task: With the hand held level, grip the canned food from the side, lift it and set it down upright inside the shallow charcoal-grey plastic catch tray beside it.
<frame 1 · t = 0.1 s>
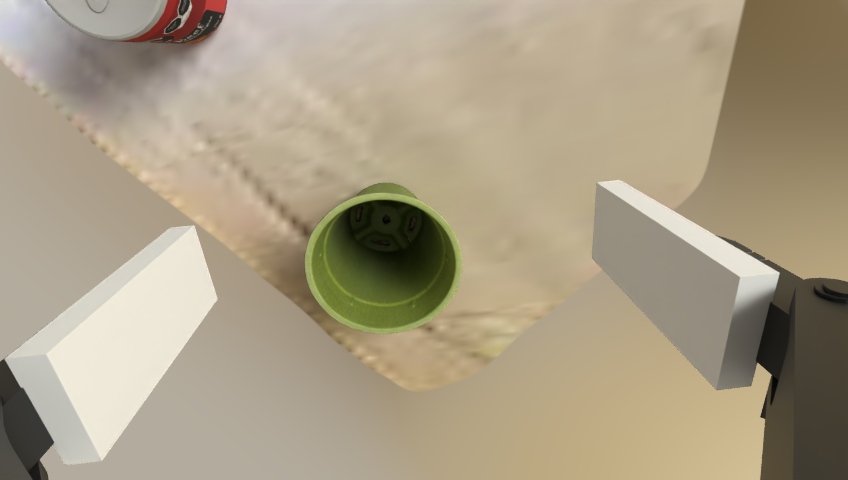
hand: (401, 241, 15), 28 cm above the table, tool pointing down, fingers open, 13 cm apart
plant pot: (387, 217, 44), on the table
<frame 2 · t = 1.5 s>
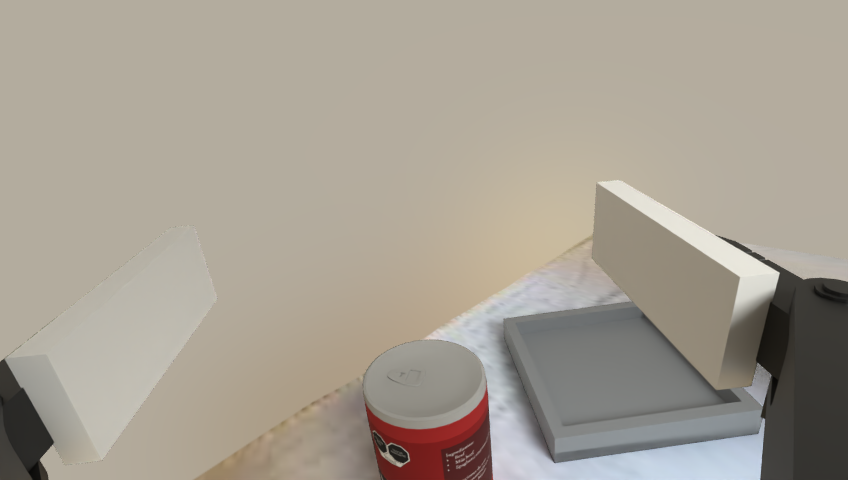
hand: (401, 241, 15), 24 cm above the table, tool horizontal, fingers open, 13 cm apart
catch tray: (609, 377, 42), on the table
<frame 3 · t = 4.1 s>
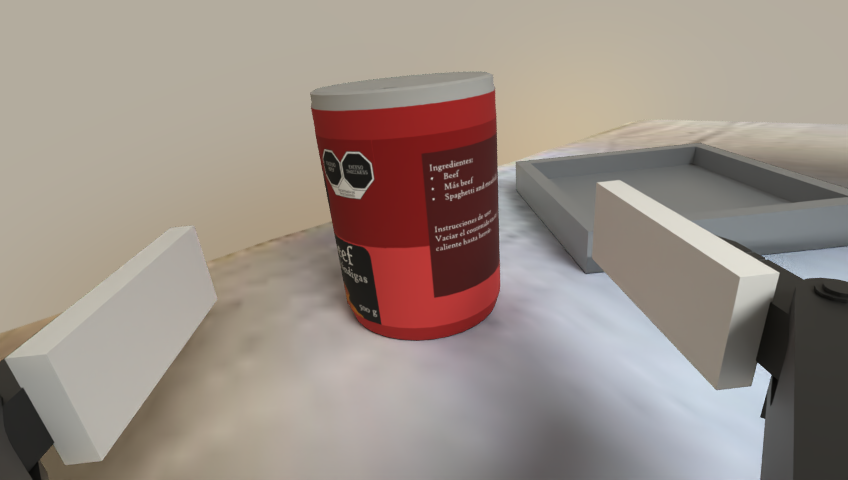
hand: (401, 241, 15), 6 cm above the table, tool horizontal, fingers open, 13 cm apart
canned food: (424, 304, 24), on the table
catch tray: (653, 210, 32), on the table
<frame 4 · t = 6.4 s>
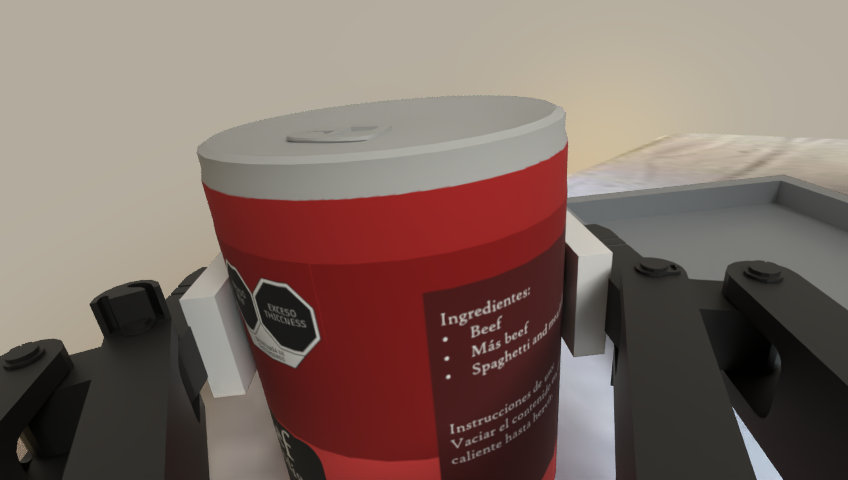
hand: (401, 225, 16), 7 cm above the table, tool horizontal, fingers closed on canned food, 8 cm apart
canned food: (426, 472, 14), on the table, touching gripper
catch tray: (744, 278, 23), on the table
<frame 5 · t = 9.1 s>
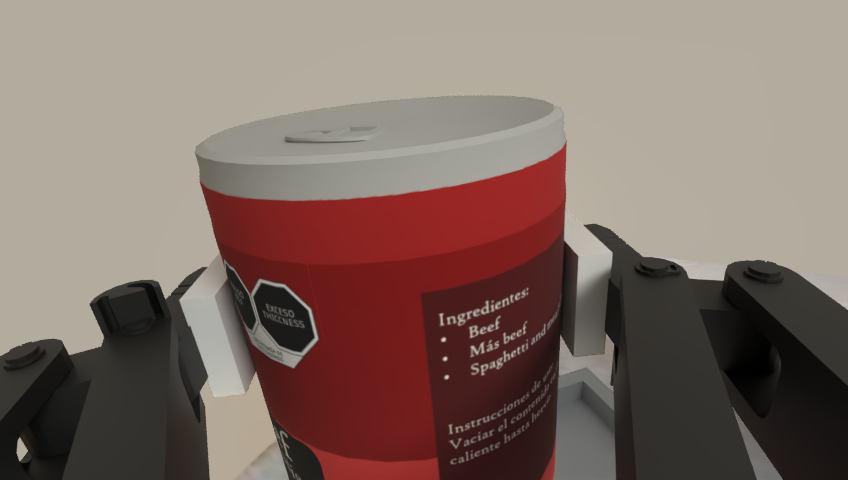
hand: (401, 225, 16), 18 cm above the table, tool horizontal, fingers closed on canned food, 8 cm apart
canned food: (425, 473, 14), point 11 cm above the table, touching gripper
when the fingers open (9 cm above the table, at t = 11.7 s): canned food drops 1 cm, resting on catch tray.
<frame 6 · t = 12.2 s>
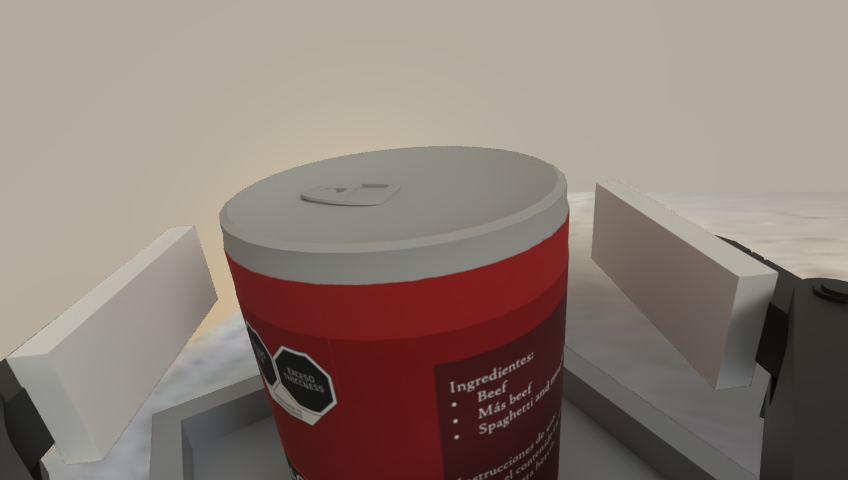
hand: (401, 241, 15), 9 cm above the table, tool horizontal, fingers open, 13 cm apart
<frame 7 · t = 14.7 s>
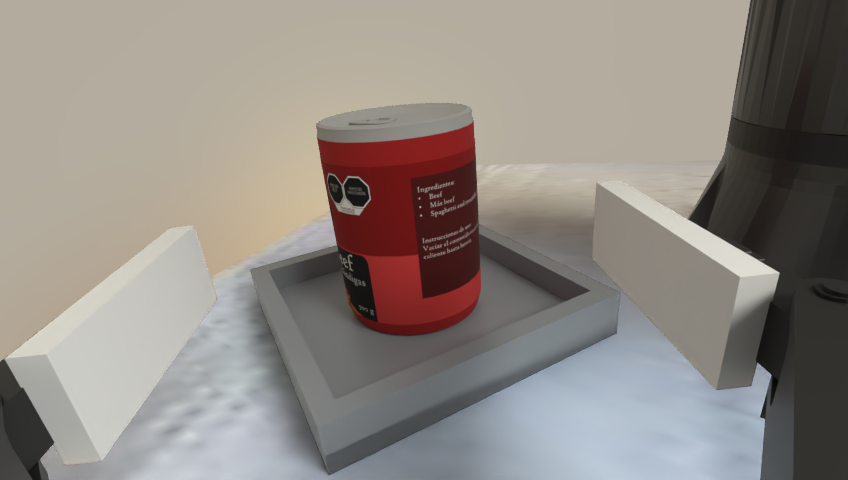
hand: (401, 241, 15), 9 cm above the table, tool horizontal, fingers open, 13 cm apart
canned food: (415, 304, 27), point 1 cm above the table, touching catch tray
catch tray: (415, 315, 27), on the table
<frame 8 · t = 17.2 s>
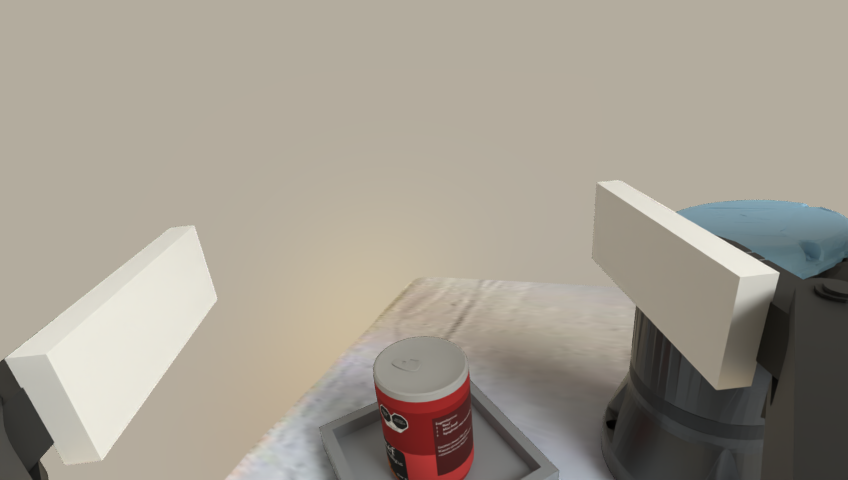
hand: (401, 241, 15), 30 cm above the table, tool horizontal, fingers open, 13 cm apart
canned food: (431, 460, 41), point 1 cm above the table, touching catch tray
catch tray: (431, 466, 42), on the table
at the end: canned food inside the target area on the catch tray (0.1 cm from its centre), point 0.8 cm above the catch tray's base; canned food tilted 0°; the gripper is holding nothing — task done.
